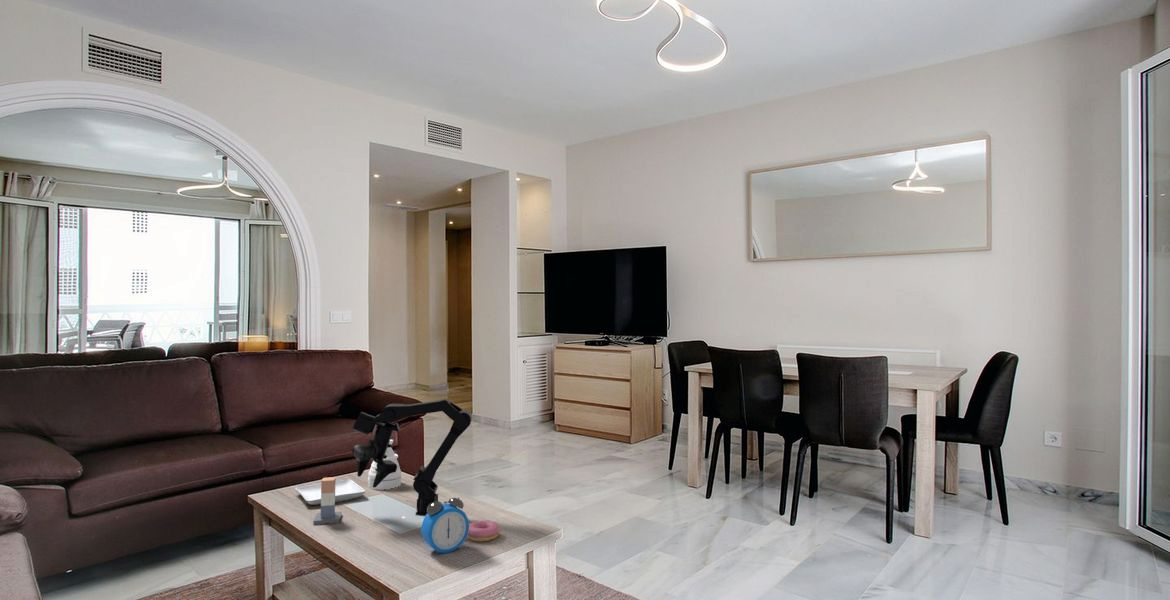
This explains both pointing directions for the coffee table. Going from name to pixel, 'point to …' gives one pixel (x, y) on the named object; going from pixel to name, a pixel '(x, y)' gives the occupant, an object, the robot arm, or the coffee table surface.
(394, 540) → the coffee table surface
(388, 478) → the honey pot
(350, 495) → the salad plate
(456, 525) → the alarm clock
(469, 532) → the doughnut
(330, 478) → the brick stack
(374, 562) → the coffee table surface
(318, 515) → the baseplate
